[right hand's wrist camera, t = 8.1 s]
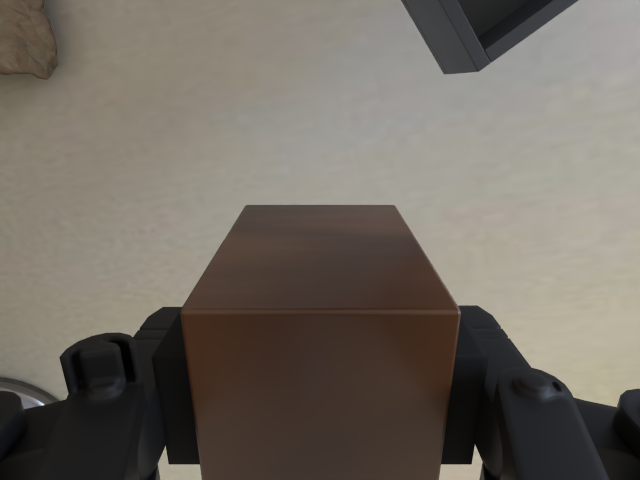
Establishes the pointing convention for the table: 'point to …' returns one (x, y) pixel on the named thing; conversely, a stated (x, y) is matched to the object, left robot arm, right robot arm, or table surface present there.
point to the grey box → (478, 28)
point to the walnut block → (320, 348)
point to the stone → (26, 39)
